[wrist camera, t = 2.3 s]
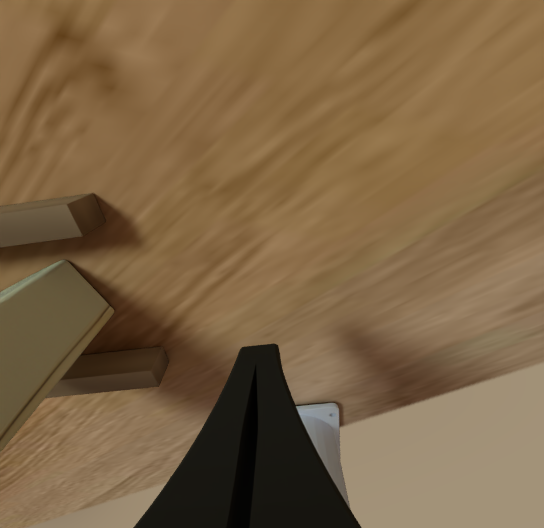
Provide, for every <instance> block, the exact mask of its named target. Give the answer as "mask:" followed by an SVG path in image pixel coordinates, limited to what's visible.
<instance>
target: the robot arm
mask: <svg viewBox="0 0 544 528" xmlns="http://www.w3.org/2000/svg"><path fill="white" fill-rule="evenodd" d="M134 528H361V526H360V525H359V523H358V521H357V520H356V518H355V517H354V515H353V514H352V512H351V510H350V506H349V501H348V496H347V491H346V487H345V482H344V478H343V473H342V468H341V463H340V433H339V408H338V405H337V404H335V403H324V404H314V405H303V406H295V403H294V401H293V398H292V396H291V393H290V390H289V388H288V385H287V382H286V379H285V376H284V373H283V370H282V365H281V359H280V353H279V347H278V345H276V344H267V345H257V346H248V347H242V348H241V349H240V351H239V354H238V357H237V359H236V362H235V364H234V366H233V369H232V371H231V373H230V376H229V378H228V380H227V382H226V384H225V386H224V388H223V390H222V392H221V394H220V396H219V398H218V400H217V402H216V404H215V406H214V408H213V410H212V412H211V413H210V415H209V417H208V419H207V421H206V422H205V424H204V426H203V428H202V430H201V431H200V433H199V435H198V436H197V438H196V440H195V441H194V443H193V445H192V446H191V448H190V449H189V451H188V453H187V454H186V456H185V457H184V459H183V460H182V462H181V463H180V465H179V466H178V468H177V469H176V471H175V472H174V474H173V475H172V476H171V478H170V479H169V481H168V482H167V484H166V485H165V487H164V488H163V490H162V491H161V492H160V494H159V495H158V496H157V498H156V499H155V501H154V502H153V503H152V505H151V506H150V507H149V509H148V510H147V511H146V512H145V514H144V515H143V516H142V518H141V519H140V520H139V521H138V523H137V524H136V525H135V527H134Z"/></svg>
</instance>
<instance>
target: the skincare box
mask: <svg viewBox="0 0 544 528" xmlns="http://www.w3.org/2000/svg"><path fill="white" fill-rule="evenodd" d="M114 312H115V311H114V309H113V308H112V307H111V306H110V305H109V304H108V303H107V302H106V301H105V300H104V299H103V298H102V297H101V296H100V295H99V293H98V292H97V291H96V290H95V289H94V288H93V287H92V286H91V285H90V284H89V283H88V282H87V281H86V280H85V279H84V278H83V277H82V276H81V275H80V274H79V273H78V271H77V270H76V269H75V268H74V267H73V266H72V265H71V264H70V263H69V262H68V261H66V260H61V261H59V262H57V263H55V264H52V265H50V266H48V267H46V268H44V269H42V270H40V271H39V272H37V273H35V274H33V275H31V276H29V277H27V278H25V279H23V280H21V281H20V282H18V283H16V284H14V285H12V286H10V287H9V288H7V289H5V290H3V291H2V292H0V452H1V451H2V450H3V449H4V447H5V446H6V445H7V444H8V442H9V441H10V440H11V439H12V438H13V436H14V435H15V434H16V433H17V431H18V430H19V429H20V428H21V427H22V425H23V424H24V423H25V422H26V421H27V419H28V418H29V417H30V416H31V415H32V413H33V412H34V411H35V410H36V408H37V407H38V406H39V405H40V404H41V402H42V401H43V400H44V399H45V397H46V396H47V395H48V394H49V393H50V391H51V390H52V389H53V388H54V386H55V385H56V384H57V383H58V382H59V380H60V379H61V378H62V377H63V375H64V374H65V373H66V372H67V370H68V369H69V368H70V367H71V366H72V364H73V363H74V362H75V361H76V359H77V358H78V357H79V356H80V355H81V353H82V352H83V351H84V350H85V348H86V347H87V346H88V345H89V343H90V342H91V341H92V340H93V338H94V337H95V336H96V335H97V334H98V332H99V331H100V330H101V329H102V327H103V326H104V325H105V324H106V322H107V321H108V320H109V319H110V317H111V316H112V315H113V314H114Z"/></svg>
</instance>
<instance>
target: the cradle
mask: <svg viewBox="0 0 544 528" xmlns="http://www.w3.org/2000/svg"><path fill="white" fill-rule="evenodd" d="M105 222H106V221H105V218H104V216H103V214H102V212H101V210H100V207H99V205H98V203H97V201H96V198H95V196H94V194H93V193H91V194H84V195H77V196H70V197H63V198H56V199H49V200H42V201H35V202H28V203H21V204H14V205H7V206H0V247H7V246H15V245H22V244H29V243H37V242H44V241H52V240H59V239H66V238H74V237H81V236H84V235H86V234H87V233H89V232H90V231H92V230H93V229H95V228H97V227H98V226H100V225H101V224H103V223H105ZM168 363H169V361H168V358H167V356H166V354H165V352H164V349H163V347H162V346H161V347H152V348H143V349H134V350H125V351H116V352H107V353H98V354H89V355H80V356H79V357H78V358H77V359H76V361H75V362H74V363H73V364H72V366H71V367H70V368H69V369H68V370H67V372H66V373H65V374H64V375H63V377H62V378H61V379H60V380H59V382H58V383H57V384H56V385H55V386H54V388H53V389H52V390H51V391H50V393H49V394H48V395H47V396H46V397H45V398H51V397H61V396H71V395H81V394H90V393H100V392H110V391H120V390H130V389H139V388H149V387H159V385H160V383H161V380H162V378H163V375H164V373H165V370H166V368H167V366H168Z"/></svg>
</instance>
